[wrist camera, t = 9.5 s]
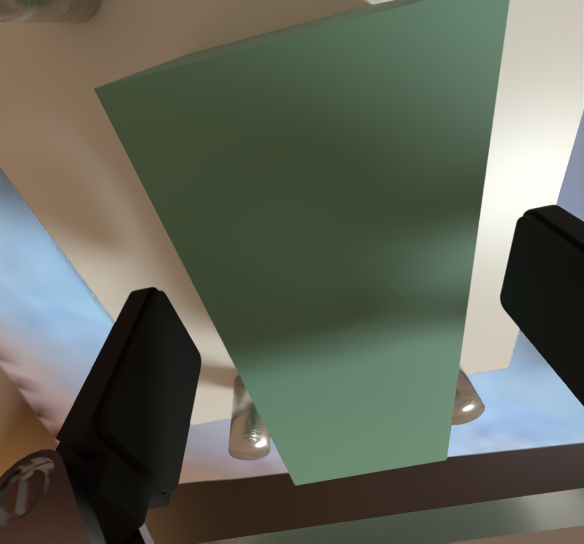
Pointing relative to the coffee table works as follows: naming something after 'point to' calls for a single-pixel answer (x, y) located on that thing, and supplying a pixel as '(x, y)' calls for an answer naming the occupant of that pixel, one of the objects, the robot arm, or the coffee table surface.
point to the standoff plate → (142, 215)
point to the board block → (330, 215)
